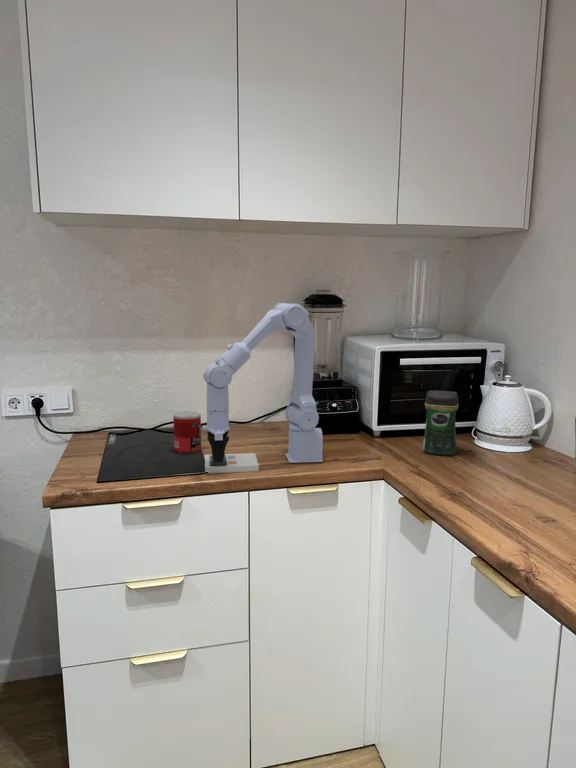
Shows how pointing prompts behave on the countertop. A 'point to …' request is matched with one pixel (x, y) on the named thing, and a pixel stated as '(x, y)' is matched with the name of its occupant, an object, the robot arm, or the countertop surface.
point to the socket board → (233, 463)
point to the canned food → (187, 431)
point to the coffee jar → (440, 422)
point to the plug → (218, 462)
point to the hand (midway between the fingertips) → (218, 459)
